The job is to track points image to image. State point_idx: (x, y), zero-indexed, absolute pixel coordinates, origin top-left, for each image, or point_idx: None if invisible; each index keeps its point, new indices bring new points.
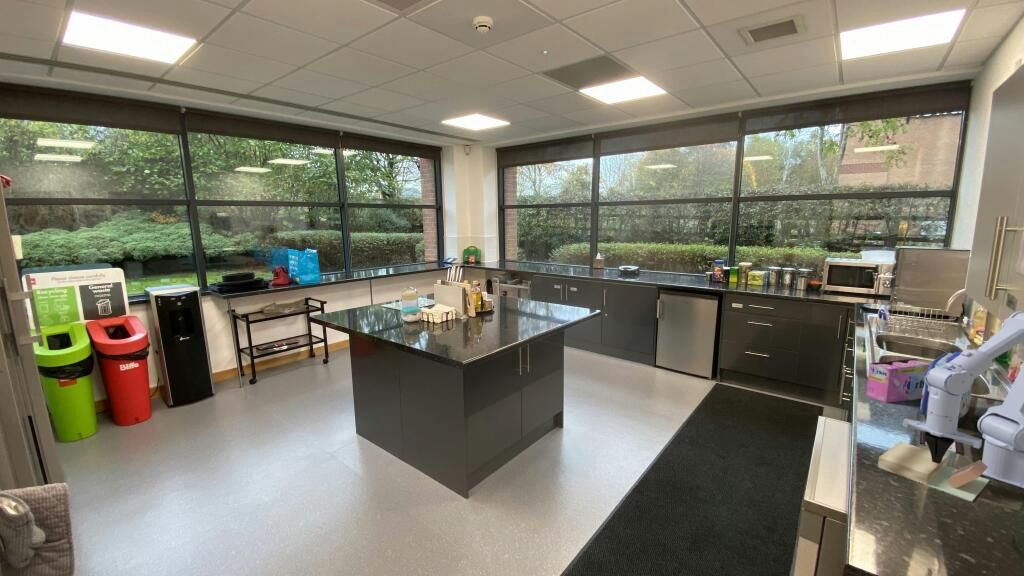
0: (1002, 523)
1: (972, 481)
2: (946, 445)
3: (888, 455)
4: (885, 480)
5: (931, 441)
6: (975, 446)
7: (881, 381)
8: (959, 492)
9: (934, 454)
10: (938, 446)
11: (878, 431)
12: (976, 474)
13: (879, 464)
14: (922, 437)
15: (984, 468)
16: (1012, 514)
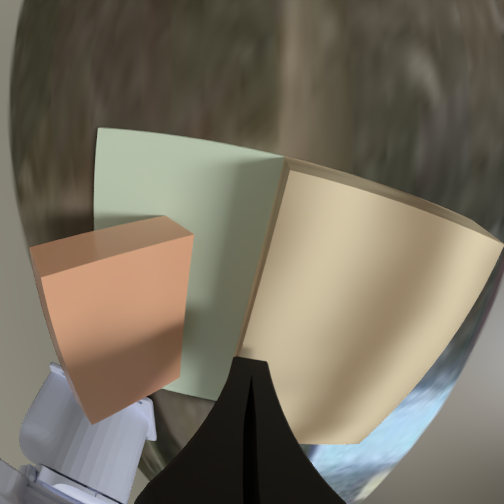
0: (34, 39)
1: None
2: (165, 491)
3: (458, 303)
4: (451, 78)
5: (290, 500)
6: (5, 473)
7: None
8: (144, 183)
9: (259, 402)
10: (234, 469)
11: (374, 456)
12: (36, 278)
13: (476, 223)
14: None
15: (66, 377)
16: (15, 151)
